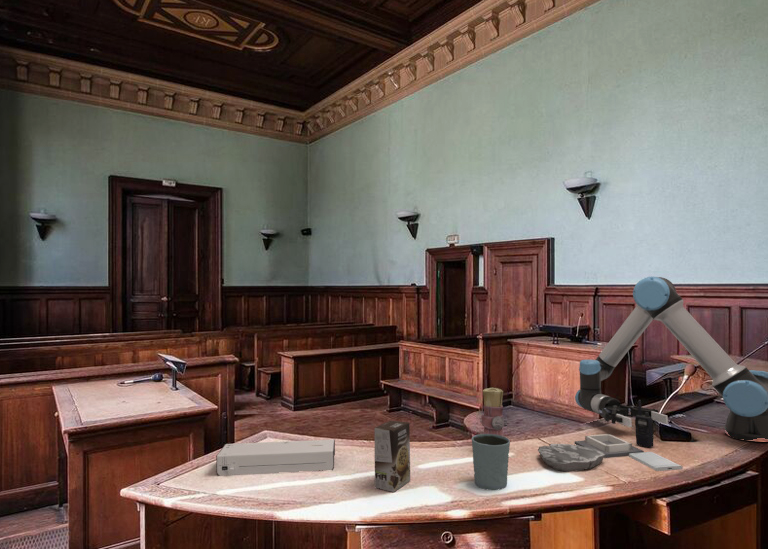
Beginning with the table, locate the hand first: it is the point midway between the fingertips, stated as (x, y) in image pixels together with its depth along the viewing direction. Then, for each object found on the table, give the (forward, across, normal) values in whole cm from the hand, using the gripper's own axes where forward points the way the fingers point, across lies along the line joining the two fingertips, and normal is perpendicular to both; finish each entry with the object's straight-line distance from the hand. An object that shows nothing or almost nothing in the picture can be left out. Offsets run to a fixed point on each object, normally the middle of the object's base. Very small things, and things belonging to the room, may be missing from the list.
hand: (648, 421), depth 159 cm
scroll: (-9, +51, -9) cm, 52 cm away
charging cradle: (-2, +14, -8) cm, 16 cm away
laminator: (-12, +119, -9) cm, 120 cm away
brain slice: (+5, +33, -9) cm, 34 cm away
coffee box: (+9, +88, -9) cm, 89 cm away
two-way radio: (-2, 0, -9) cm, 9 cm away
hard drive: (+12, +8, -9) cm, 17 cm away
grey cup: (+15, +62, -9) cm, 64 cm away
